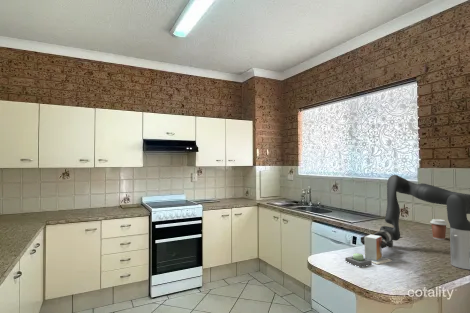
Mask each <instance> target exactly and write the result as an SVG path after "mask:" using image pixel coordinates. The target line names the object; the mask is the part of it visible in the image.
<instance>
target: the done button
mask: <svg viewBox="0 0 470 313" xmlns="http://www.w3.org/2000/svg"><path fill="white" fill-rule="evenodd" d="M363 255H364V254H362V253H357V252H355V253H353V254H352V256H353V259H354V260H357V261H363Z"/></svg>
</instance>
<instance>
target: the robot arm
mask: <svg viewBox="0 0 470 313" xmlns="http://www.w3.org/2000/svg"><path fill="white" fill-rule="evenodd" d="M397 193H400V194H404V195H409V196H412V197H414V198H416V199H418V200H421V201H424V202H426V203H429V204H430V203H431V204H436V205H442V206H443V205H445V206H446V214H447V221H448V224H449V240H450V242H449V244H450V246H449V248H450V265H452V266H453V267H455V268H459V269H463V270H469V271H470V221H469V220H468V216H467V215H470V194H469V193H462V192H455V191H453V190H452V191H451V190H449V189H445V188H442V187H438V186H435V185H432V184H429V183H428V184H427V183H423V182H422V183H415V182H412V181H410V180H408V179H406V178H404V177H402V176H400V175H397V174H391V175H390V176H389V178H388V180H387V182H386V200H387V202H386V203H387V204H386V210H385V216H384V221H385V222H386V223H388V224H389V225H392V226H393V227H391V226H385V225H383V226H380V228H379V230H378V231H376V232H375V233H373V234H372V235H377V236H382V243H381V248H382V249H384V248H387V247H388V248H389V249H391V248H393V246H394V241H399V240H400V239H401V230H400V224H399V223H400V215H401V214H400V213H401V208H400V204H399V200H398V197H397ZM366 236H367V235H363V236H361V237H360V243H361V244H362V245H364V246H365V237H366Z"/></svg>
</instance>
